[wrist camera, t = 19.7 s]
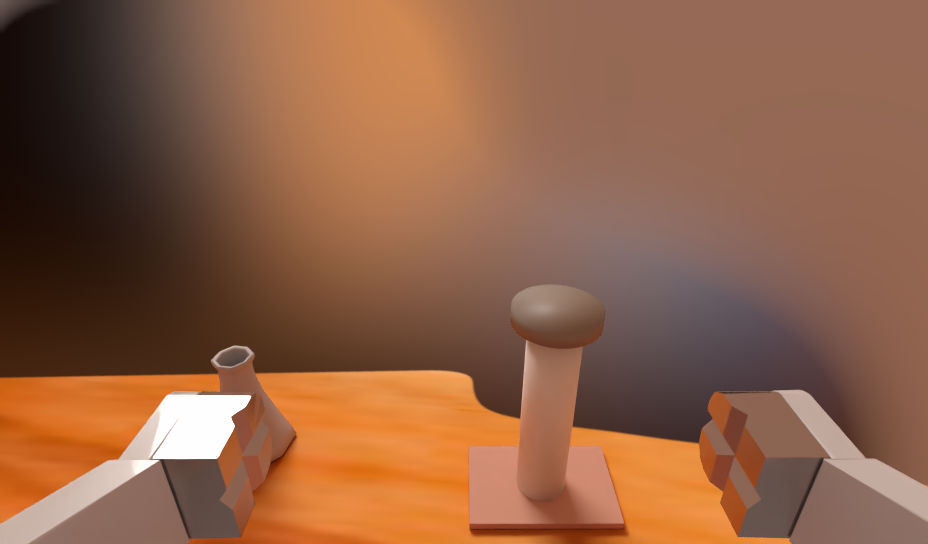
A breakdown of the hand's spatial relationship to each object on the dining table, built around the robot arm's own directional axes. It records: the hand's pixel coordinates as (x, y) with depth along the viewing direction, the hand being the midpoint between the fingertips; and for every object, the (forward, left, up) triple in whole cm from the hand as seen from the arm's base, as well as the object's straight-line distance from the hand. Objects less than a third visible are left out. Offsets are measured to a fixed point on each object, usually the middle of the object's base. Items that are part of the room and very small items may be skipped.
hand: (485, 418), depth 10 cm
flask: (-20, +29, -30) cm, 47 cm away
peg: (+6, +24, -29) cm, 38 cm away
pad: (+6, +24, -30) cm, 39 cm away
